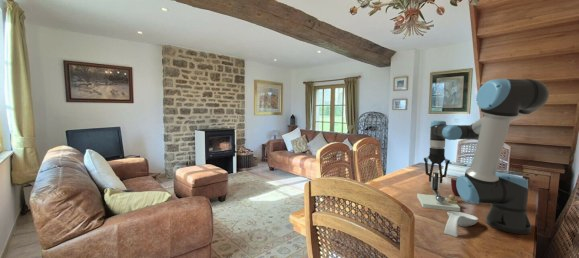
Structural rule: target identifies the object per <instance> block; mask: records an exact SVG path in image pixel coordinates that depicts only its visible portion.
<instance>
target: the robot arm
mask: <svg viewBox="0 0 579 258" xmlns="http://www.w3.org/2000/svg"><path fill="white" fill-rule="evenodd" d="M475 97H476V98H475V99H476V104H477V106H478V107H479V108H480V114H482V115H483V116H482V117H480V118H479V119H478V120H476V121H475V122H472V124H469V125H467V124H464V125H463V124H462V125H459V124H447V122H446V121H445V120H432V121H431V122H430V123H431V124H430V127H429V128H430V133H429V135H430V136H429V137H430V138H429V152H428V153H429V155H428V156H427V157H423V161H424V168H425V169H424V170H425V175H426V176H428V182H430V188H431V189H432V184H433V171H434V166H435V164H436V165H438V173H439V176H438V190H440V188H441V187H440V186H441V185H440V184H442V183H443V178H446V177H447V175H448V174H447V172H448V168H449V164H450V163H451V160H450V159H448V158H446V156H445V151H446V148H445V147H446V140H448V141H456V140H476V146H475V151H474V154H473V159H472V163H471V167H468V168H467V169H465V172H464V175H460V176H458V177H457V178H458V179H457V181H456V187H457V191H458V193H459V195H460V196H459V197H460V198H461V199H462V200H463V201H465V202H466V203H469V204H476V205H478V204H490V205H491V207H490V209H489V211H488V213H487V215H486V217H485V218H486V219H485V223H486V224H487V225H488V226H489V227H490V226H491V227H492V228H495V229H496V230H500V231H503V232H505V233H506V232H507V233H512V234H517V235H528V234H531V233H532V225H531V222H530V219H529V216H528V213H527V209H528V199H529V198H528V196H529V190H530V189H529V181H528V180H527V179H526V178H525V177H521V176H519V175H513V174H510V173H502V172H497V170H498V166H499V162H500V159H501V156H502V153H503V149H504V146H505V142H506V138H507V135H508V132H509V128H510V125H511V121H513V120H515V119H517V118H518V117H521V116H522V115H524V116H525V115H531V113H532V114H533V113H534V112H536V111H537V110H540V109H541V108H542V107H543V106H544V105H546V103H547V102H548V99H549V97H550V91H549V88H548V87H547V86H546V85H545V84H544V83H543V82H542V81H540V80H537V79H531V78H523V79H522V78H519V79H518V78H498V79H497V78H495V79H490V80H487V81H485V82H484V83H483V84H482V85H481V86H480V88H479V89H478V91H477V94H476V96H475ZM428 161H430V162H431V164H430V169H429V162H428ZM443 162H444V163H445V166H444V170H443V169H442V168H443V167H442V164H443ZM443 171H444V172H443Z"/></svg>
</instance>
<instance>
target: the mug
mask: <svg viewBox="0 0 579 258" xmlns="http://www.w3.org/2000/svg"><path fill="white" fill-rule="evenodd" d="M457 179H458V177H451V178H450V184H451V191H452V193H453V195H454V196H455V197H460V195H459V193H458V191H457V187H456V181H457Z"/></svg>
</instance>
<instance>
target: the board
mask: <svg viewBox="0 0 579 258" xmlns="http://www.w3.org/2000/svg"><path fill="white" fill-rule="evenodd" d="M416 194H417V196H416V197H417V199H418V201H419V203H420V205H421V208H424V209H434V210H443V211H449V212H461V206H459V205H458V201H457V200H456V196H455V195H454V194H452V193H451V194H449V195H448V196H444V195H442V196H443V197H445V199H444V201H438V200H436V196H435V194H423V193H416Z"/></svg>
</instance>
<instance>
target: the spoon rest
mask: <svg viewBox="0 0 579 258" xmlns="http://www.w3.org/2000/svg"><path fill="white" fill-rule="evenodd" d="M446 215H447V217H448V219H447V222H446V224H445V228H444V231H443V233H444V234H445V235H447V236H451V237H454V238H458V236H459V235H458V226H460V227H465V228H466V227H471V226H473V225H475V224H477V223H478V221H479V218H478V217H477V216H475V215H472V214H469V213H466V212H461V211H460V212H459V211H447V212H446Z"/></svg>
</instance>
